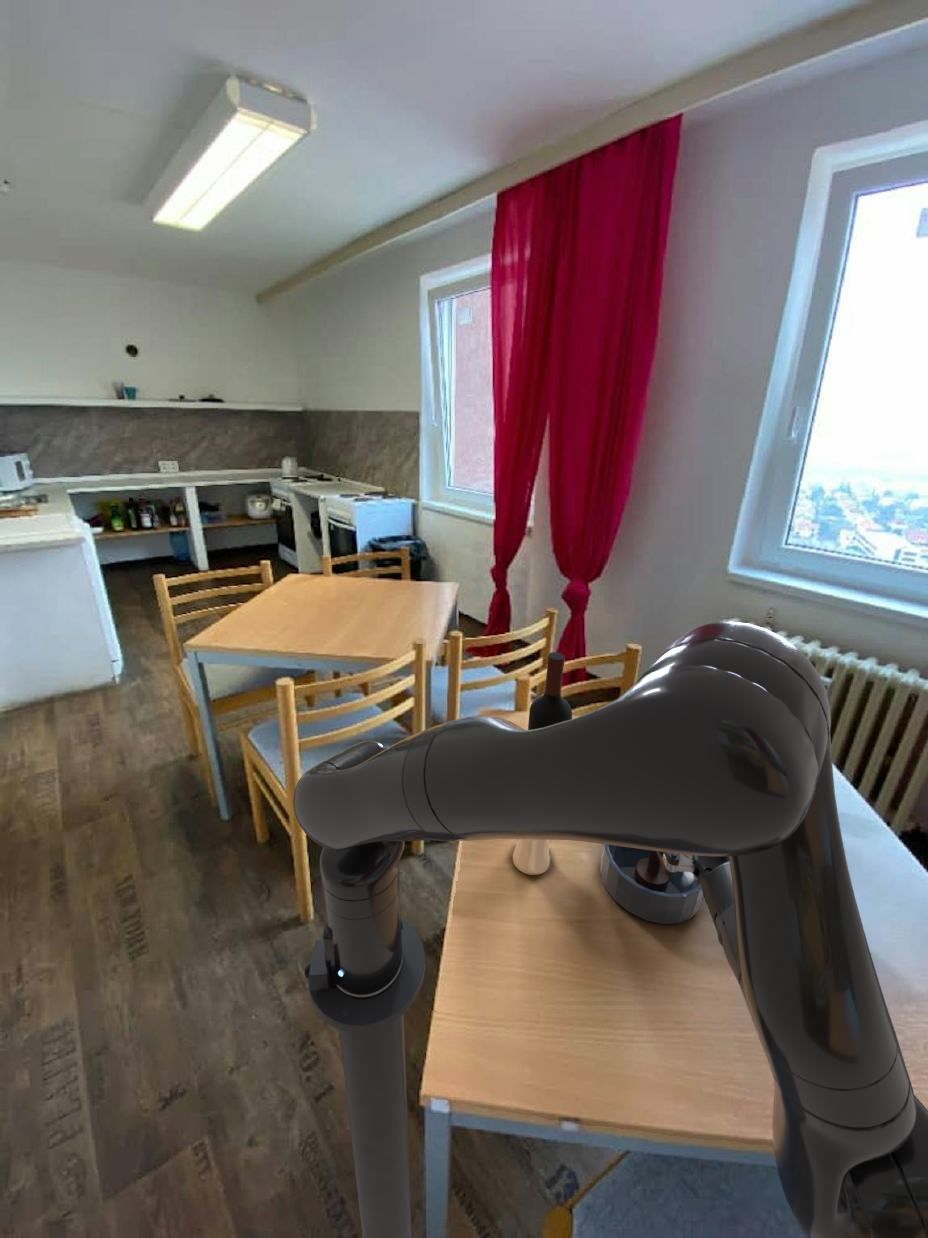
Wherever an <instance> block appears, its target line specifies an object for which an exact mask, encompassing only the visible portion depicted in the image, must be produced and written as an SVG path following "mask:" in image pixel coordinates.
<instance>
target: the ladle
mask: <svg viewBox="0 0 928 1238" xmlns="http://www.w3.org/2000/svg"><path fill="white" fill-rule="evenodd" d="M634 877H635V880H636V882H637V884H639V885H641V886H644V887H646V888H648V889H650V890H653V891H657V892H664V891H665V890H666V889H667V886H668V882H669V878H670V877H668V876H667V875H666V874H665V873H664V871H663V868H662V865H661V863H660V860H659V857H658V854H657V852H656V851H652V850H651V852H650V856H649V858H643V859H640V860H639V861H638V862H637V864H636V869H635V874H634Z"/></svg>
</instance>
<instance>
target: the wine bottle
mask: <svg viewBox="0 0 928 1238" xmlns="http://www.w3.org/2000/svg"><path fill="white" fill-rule="evenodd" d="M565 661H566V660H565V655H564V654H563V653H561V652H558V651H557V652H549V653H548V655H547V660H546V664H547V665H546V676H545V688H544V693H543V694H542V695H539V696H538V697H536V698H535V699H534V700H533V701H532V702H531V703H530V706H529V711H528V712H529V713H528V722H527V723H528V725H527V730H534V729H539V728H544V727H547V726H551V725H554V724H557V723H561V722H564V721H567V720H571V719H573V709H572V707H571V705H570V703H569V702H568V701H567V700H566V699H565V698H564V697H562V685H563V675H564V667H565Z"/></svg>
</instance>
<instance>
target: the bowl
mask: <svg viewBox="0 0 928 1238" xmlns="http://www.w3.org/2000/svg"><path fill="white" fill-rule="evenodd" d="M602 845H603V846H602V852H601V858H600V868H599V869H600V871H599V872H600V874H599V875H600V877H601V880H602V882H603V885H604V888H605V889H606V891H607V892H608V893H609V895H610V896H611V897H612V899H613V900H614V901H615V902H616V903H618V904H619V905H620V906H621V907H622V908H624V909H625V910H626V911H627V912H629V913H631V914H632V915H635V916H637V917H639V918H640V919H642V920H645V921H648V922H652V923H658V924H661V925H668V924H670V925H671V924H680V923H682V922H685V921H688V920H689V919H691V918H693V917H694V916H695V914H696V913H697V912H698V911H699V910H700V908H701V907H702V902H703V899H704V895H703V891H702V887H701V884H700V882H699V880H698V879H697V878H696V877H695V876H694V875H693V873H692V872H679V871H677V873H676V876H675V877H670V878H669V882H668V886H667V889H666V890H665V891H664V892H657V891H653V890H650V889H648V888H646V887H644V886H641V885H639V884H637V882H636V880H635V877H634V874H635V869H636V864H637V862H638V861H639V860H640V859H643V858H649V856H650V852H651V850H644V849H636V848H629V847H621V846H614V845H607V844H602ZM684 855H685V854H684ZM685 856H686V855H685ZM686 857H687V856H686ZM687 858H688V857H687Z"/></svg>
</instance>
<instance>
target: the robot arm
mask: <svg viewBox="0 0 928 1238" xmlns="http://www.w3.org/2000/svg"><path fill="white" fill-rule="evenodd" d="M829 702H830V700H829V697H828V693H827V689H826V686H825V684H824V682H823V679H822V678H821V676H820V674H819V673H818V671H817V670H816V667H814V665H813V663H812V662H811V661H810V660H809V659H808V658H807V656H806V655H805V654H804V653H803V652H802V651H801V650H800V649H799V648H798V647H796V646H795V645H794V644H792V643H791V642H790V641H788V640H787V639H786V638H785V637H783V636H781V635H779V634H777V633H775V632H773V631H771V630H769V629H767V628H765V627H761V626H757V625H754V624H752V623H748V622H747V623H746V622H737V621H717V622H716V621H715V622H709V623H706V624H702V625H699V626H698V627H695V628H693V629H691V630H689V631H686V632H685V633H683V634H682V635H681V636H679V637H678V638H677V639H675V640H674V641H673V642H672V643H671V644H670V645H668V646H667V647H666V648H665V649H664V650H663V651H662V652H661V653H660V654H659V655H658V656H657V657H656V659H655V660H654V661H653V662H652V663H651V664H650V666H649V667H648V668H647V669H646V671H644V673H643V674H642V675H641V676H640V677H639V678H638V679H637V681H635V683H634V684H633V685H631V687H630V688H629V689H628V690H626V691H625V692H624V693H623V694H621V695H620V696H619V697H618V698H616V699H615V700H614V701H611V702H610V703H607V704H605V705H604V706H602V707H599V708H597V709H595V710H593V711H590V712H588V713H585V714H583V715H580V716H577V717H574V718H572V719H571V720H567V721H564V722H561V723H557V724H554V725H551V726H547V727H544V728H539V729H534V730H528V729H525V728H524V727H521V726H520V725H518V724H516V723H514V722H512V721H511V720H508V719H506V718H504V717H499V716H495V715H490V714H476V715H470V716H464V717H460V718H457V719H454V720H450V721H447V722H444V723H441V724H436V725H434V726H430V727H428V728H426V729H424V730H421V731H419V732H416V733H414V734H412V735H410V736H408V737H406V738H403V739H402V740H400V741H398V742H396V743H394V744H392V745H390V746H389V747H386V746H385V745H383V744H382V743H381V742H378V741H375V740H363V741H360V742H357V743H355V744H354V745H351V746H350V747H348V748H346V749H344V750H342V751H340V752H339V753H336V754H335V755H332V756H331V757H329V758H327V759H325V760H323V761H322V762H319V763H318V764H316V765H315V766H313V767H311V768H310V769H308V770H307V771H306V772H304V773H303V774H302V776H300V778H299V779H298V781H297V784H296V786H295V790H294V791H293V792H294V793H293V802H292V803H293V810H294V815H295V818H296V821H297V823H298V825H299V827H300V828H301V829H302V831H303V832H304V833H305V835H306V836H307V837H308V838H309V839H310V840H312V841H313V842H314V843H315V844H317V845H318V846H320V847H322V849H321V852H320V854H319V855H320V856H319V873H320V882H321V891H322V898H323V907H324V917H325V921H324V926H323V932H322V937H323V940H321V939H316V940H315V941H314V945H313V946H314V947H313V952H312V954H313V956H312V955H311V957H312V961H311V963H310V962H309V964H308V965H307V966H305V968H304V976H305V977H306V978H307V980H308V979H309V983H310V989H311V990H320V989H329V988H337V989H338V990H339V991H340V992H341V993H343V994H344V995H346V996H348V997H350V998H353V999H370V998H373V997H376V996H378V995H380V994H382V993H384V992H385V991H386V990H388V989H389V988H390V987H391V986H392V985H393V984H394V982H395V981H396V980H397V978H398V976H399V974H400V972H401V969H402V964H403V950H402V934H401V928H402V929H403V922H402V921H401V917H402V912H401V911H402V910H401V909H402V907H401V881H400V879H401V877H400V860H401V857H402V856H403V853H404V849H405V842H417V841H419V842H420V841H438V842H478V841H480V842H481V841H482V842H483V841H491V840H492V841H494V840H516V839H531V840H551V841H553V840H554V841H573V842H582V843H583V842H584V843H592V844H601V845H604V844H607V845H614V846H621V847H629V848H636V849H644V850H652V851H656V852H657V854H658V857H659V860H660V863H661V865H662V868H663V871H664V873H665V874H666V875H667V876H668V877H675V876H676V873H677V871H679V872H692V873H693V875H694V876H695V877H696V878H697V879H698V880H699V882H700V884H701V887H702V891H703V899H704V900H705V904H706V906H707V909H708V912H709V914H710V917H711V920H712V922H713V926H714V928H715V931H716V935H717V939H718V942H719V944H720V947H722V950H723V952H724V956H725V958H726V960H727V963H728V965H729V967H730V970H731V971H732V973H733V975H734V977H735V979H736V981H737V983H738V985H739V987H740V991H741V994H742V996H743V999H744V1001H745V1005H746V1007H747V1010H748V1013H749V1015H750V1018H751V1021H752V1023H753V1026H754V1028H755V1031H756V1034H757V1037H758V1039H759V1042H760V1045H761V1047H762V1049H763V1052H764V1055H765V1057H766V1058H765V1059H766V1061H767V1063H768V1066H769V1069H770V1072H771V1075H772V1078H773V1103H772V1104H773V1105H772V1143H773V1152H774V1160H775V1164H776V1169H777V1174H778V1177H779V1181H780V1184H781V1187H782V1191H783V1194H784V1197H785V1199H786V1202H787V1204H788V1207H789V1209H790V1211H791V1212H792V1213H791V1214H792V1215H793V1217H794V1218H795V1219H794V1220H796V1222H797V1224H798V1225H799V1227H800V1228H801V1230H802V1231H803V1233H804V1234H805V1235H806V1236H807V1238H928V1109H927V1107H926V1106H925V1105H924V1104H923V1103H922V1102H921V1100H920V1099H919V1098H918V1097H917V1096H916V1095H915V1091H914V1088H913V1084H912V1081H911V1079H910V1076H909V1072H908V1069H907V1065H906V1062H905V1059H904V1056H903V1052H902V1049H901V1046H900V1043H899V1039H898V1037H897V1033H896V1030H895V1027H894V1024H893V1022H892V1018H891V1015H890V1013H889V1009H888V1006H887V1003H886V1001H885V997H884V993H883V991H882V987H881V985H880V981H879V977H878V975H877V971H876V968H875V964H874V961H873V958H872V954H871V950H870V948H869V943H868V939H867V937H866V932H865V929H864V925H863V922H862V918H861V913H860V911H859V907H858V903H857V899H856V895H855V891H854V886H853V883H852V879H851V875H850V870H849V866H848V860H847V856H846V851H845V846H844V841H843V840H844V839H843V836H842V830H841V829H842V828H841V824H840V818H839V812H838V806H837V797H836V793H835V792H836V791H835V781H834V769H833V768H834V767H833V757H832V756H833V755H832V741H831V740H832V739H831V726H832V715H831V708H830V703H829ZM684 854H685V855H686V856H687V857H688V858H687V857H686V856H685V855H684Z"/></svg>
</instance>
